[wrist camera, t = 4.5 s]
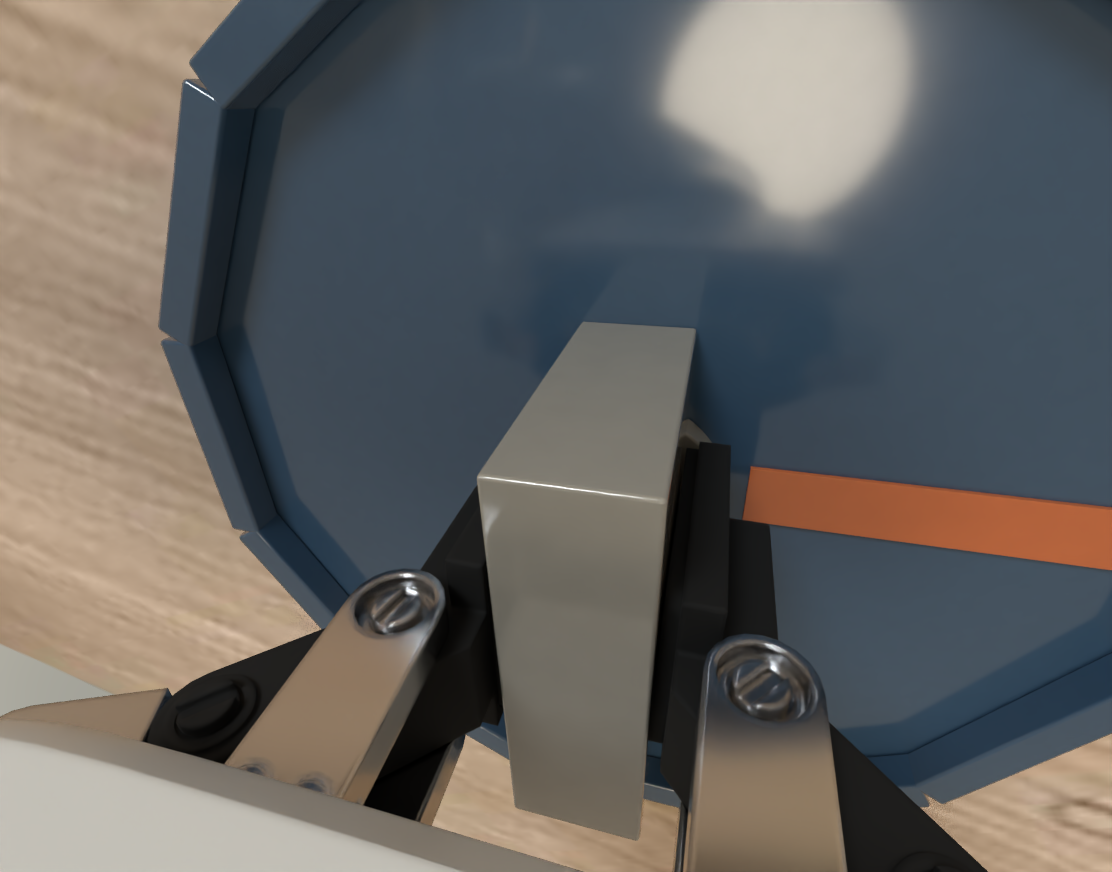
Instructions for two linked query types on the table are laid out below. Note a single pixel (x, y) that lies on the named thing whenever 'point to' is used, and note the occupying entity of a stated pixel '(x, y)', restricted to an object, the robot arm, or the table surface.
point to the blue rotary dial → (674, 345)
